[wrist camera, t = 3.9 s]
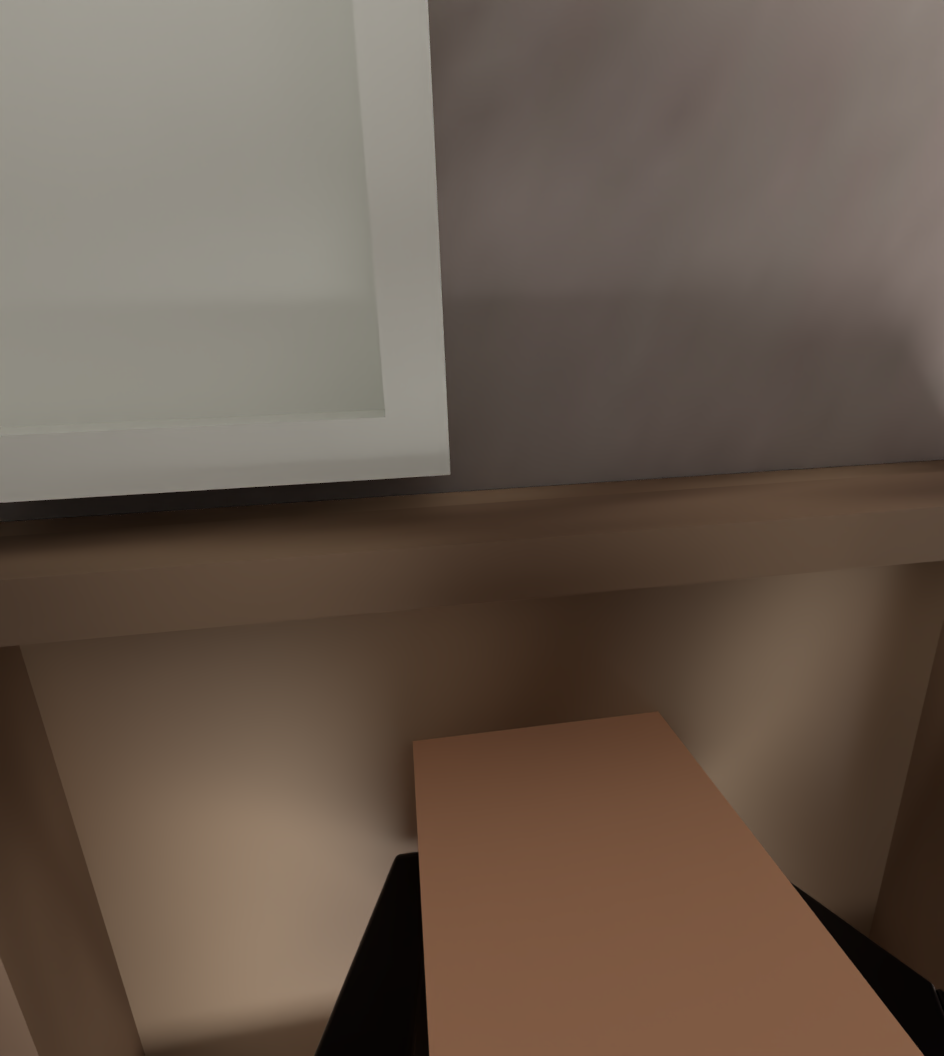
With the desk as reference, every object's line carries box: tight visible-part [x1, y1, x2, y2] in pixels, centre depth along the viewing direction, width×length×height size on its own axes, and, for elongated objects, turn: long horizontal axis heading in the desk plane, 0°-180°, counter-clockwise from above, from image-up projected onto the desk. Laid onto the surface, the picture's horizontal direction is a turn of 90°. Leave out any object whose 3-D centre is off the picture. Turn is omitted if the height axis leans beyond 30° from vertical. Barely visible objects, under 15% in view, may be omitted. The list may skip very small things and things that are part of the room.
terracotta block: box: [413, 711, 924, 1056], centre depth 7 cm, size 4×4×5 cm
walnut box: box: [0, 460, 944, 1056], centre depth 9 cm, size 15×11×2 cm
